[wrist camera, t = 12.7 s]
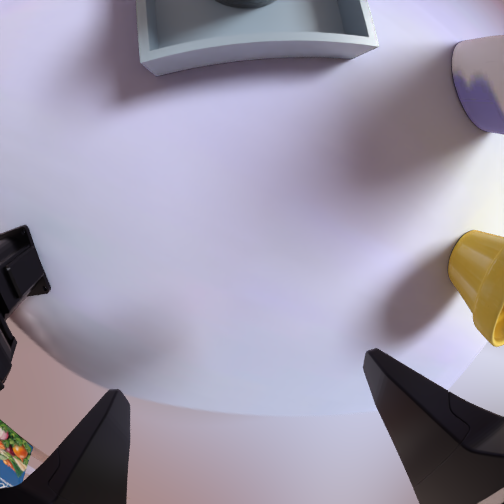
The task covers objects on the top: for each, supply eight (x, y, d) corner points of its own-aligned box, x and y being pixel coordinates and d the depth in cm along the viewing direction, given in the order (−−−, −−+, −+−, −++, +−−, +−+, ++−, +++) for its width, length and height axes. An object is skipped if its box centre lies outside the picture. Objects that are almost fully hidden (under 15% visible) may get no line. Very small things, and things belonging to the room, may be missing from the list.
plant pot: (419, 281, 24) (479, 339, 15) (467, 195, 21) (540, 229, 12) (459, 307, 27) (505, 353, 18) (499, 238, 24) (553, 272, 15)
